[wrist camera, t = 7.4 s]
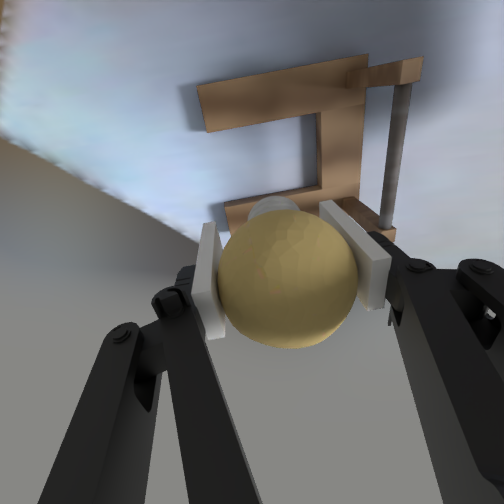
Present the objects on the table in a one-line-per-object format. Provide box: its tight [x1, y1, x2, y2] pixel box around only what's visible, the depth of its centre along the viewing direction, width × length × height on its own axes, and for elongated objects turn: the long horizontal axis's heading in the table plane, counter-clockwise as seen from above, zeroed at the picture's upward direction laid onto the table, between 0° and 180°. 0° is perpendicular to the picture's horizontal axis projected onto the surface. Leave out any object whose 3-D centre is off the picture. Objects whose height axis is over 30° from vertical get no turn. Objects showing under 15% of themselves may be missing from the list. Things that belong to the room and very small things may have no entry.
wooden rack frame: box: [196, 54, 424, 242], centre depth 27 cm, size 18×18×12 cm
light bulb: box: [217, 196, 358, 349], centre depth 14 cm, size 6×6×10 cm
